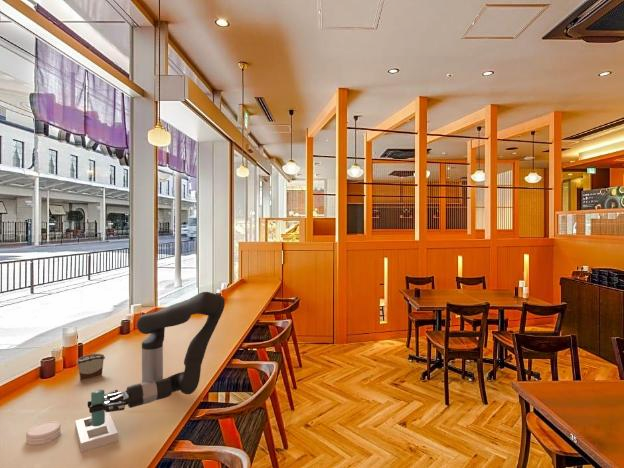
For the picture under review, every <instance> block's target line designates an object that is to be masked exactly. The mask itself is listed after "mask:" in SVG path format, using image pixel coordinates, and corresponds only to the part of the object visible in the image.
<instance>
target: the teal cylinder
mask: <svg viewBox="0 0 624 468" xmlns="http://www.w3.org/2000/svg"><path fill="white" fill-rule="evenodd" d="M90 394H91V395H90V400H91V406H92V405H96V404H100V403H104V402H105V397H104V394H105V389H95V390H93V391H91V393H90ZM105 413H106V412H105V411H102V410H101V411H97V412H93V413H91V416H92V426H100V425H102V424H104V423H105Z"/></svg>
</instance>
